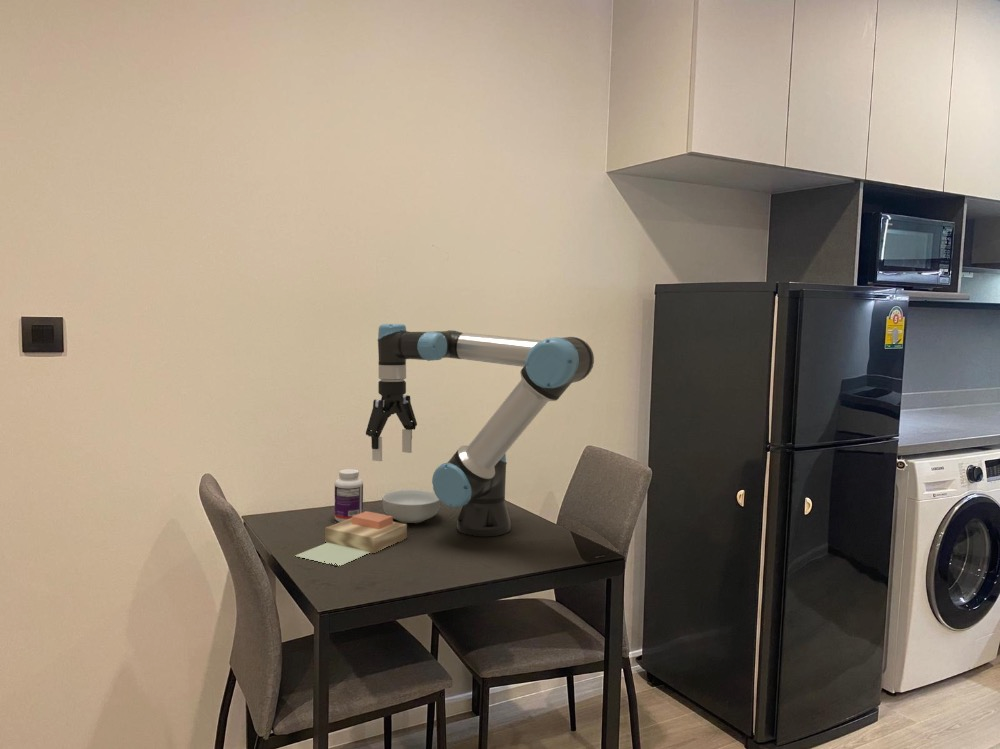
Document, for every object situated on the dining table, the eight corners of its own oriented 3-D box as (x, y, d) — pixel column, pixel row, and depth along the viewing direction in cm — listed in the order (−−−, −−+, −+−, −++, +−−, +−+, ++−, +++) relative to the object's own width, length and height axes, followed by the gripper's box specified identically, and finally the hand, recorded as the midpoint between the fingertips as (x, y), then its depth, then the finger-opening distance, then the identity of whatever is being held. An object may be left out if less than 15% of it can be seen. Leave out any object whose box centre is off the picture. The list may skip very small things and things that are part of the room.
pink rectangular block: (392, 523, 194) (392, 516, 194) (378, 529, 189) (379, 521, 189) (366, 518, 198) (366, 511, 198) (351, 523, 193) (351, 516, 193)
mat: (370, 553, 182) (370, 552, 182) (338, 567, 172) (338, 566, 172) (327, 543, 189) (327, 542, 189) (294, 556, 178) (294, 555, 178)
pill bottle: (344, 514, 215) (344, 466, 213) (368, 517, 212) (368, 469, 211) (329, 522, 207) (329, 472, 206) (353, 525, 205) (353, 475, 203)
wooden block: (406, 538, 194) (406, 524, 194) (373, 553, 182) (374, 538, 181) (359, 528, 202) (359, 514, 201) (325, 542, 189) (325, 527, 189)
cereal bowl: (385, 530, 201) (386, 505, 200) (378, 513, 217) (378, 490, 216) (445, 526, 206) (446, 502, 205) (434, 510, 222) (434, 487, 221)
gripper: (407, 376, 212) (407, 447, 213) (351, 383, 190) (352, 462, 191) (429, 377, 208) (429, 450, 210) (374, 384, 186) (375, 465, 188)
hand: (392, 456), depth 201 cm, fingers open, 13 cm apart
